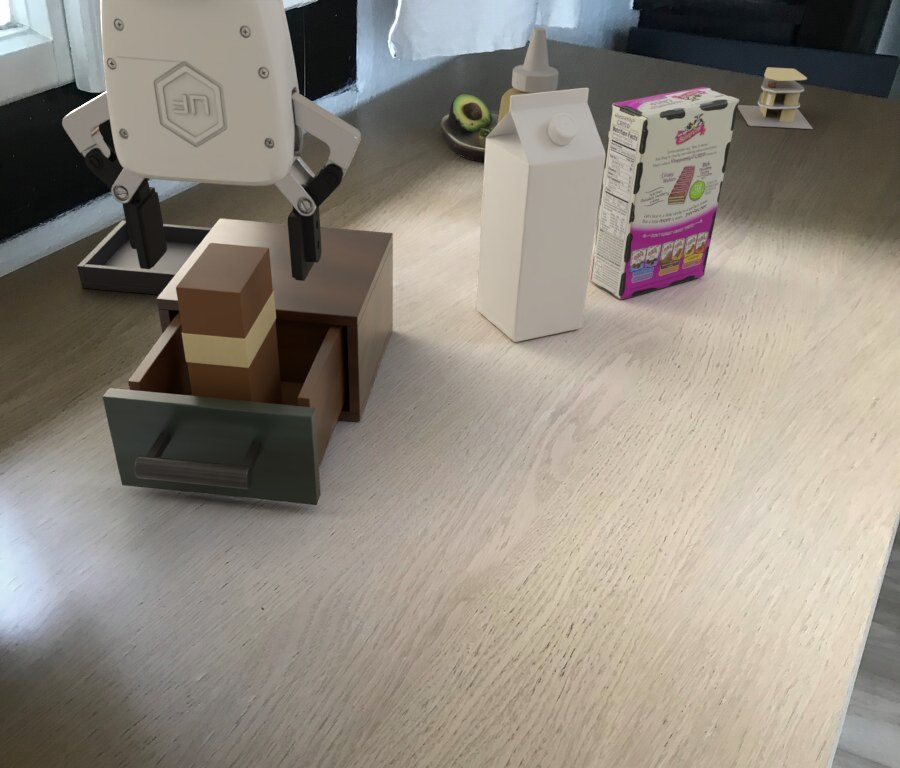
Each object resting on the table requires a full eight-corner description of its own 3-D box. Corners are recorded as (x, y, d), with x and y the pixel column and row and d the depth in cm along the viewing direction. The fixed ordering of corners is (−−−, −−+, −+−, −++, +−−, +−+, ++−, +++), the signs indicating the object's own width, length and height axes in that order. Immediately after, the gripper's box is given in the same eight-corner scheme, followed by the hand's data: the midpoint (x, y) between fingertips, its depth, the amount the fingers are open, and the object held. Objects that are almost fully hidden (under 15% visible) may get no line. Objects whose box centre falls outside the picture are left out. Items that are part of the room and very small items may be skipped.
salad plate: (566, 118, 135) (570, 81, 132) (611, 161, 122) (617, 122, 119) (429, 122, 131) (430, 85, 128) (461, 167, 119) (463, 127, 116)
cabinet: (360, 422, 75) (357, 316, 69) (173, 404, 76) (156, 298, 70) (392, 329, 87) (392, 232, 81) (231, 314, 87) (219, 218, 82)
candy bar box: (670, 260, 100) (703, 84, 89) (704, 278, 97) (744, 98, 86) (585, 282, 96) (610, 99, 85) (619, 302, 92) (649, 115, 82)
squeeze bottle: (524, 195, 113) (540, 16, 101) (575, 216, 108) (597, 32, 96) (471, 209, 109) (481, 25, 97) (521, 233, 104) (538, 42, 92)
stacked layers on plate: (735, 105, 143) (744, 63, 140) (797, 108, 143) (807, 66, 140) (748, 125, 136) (758, 82, 132) (813, 129, 136) (824, 86, 132)
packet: (200, 454, 67) (174, 287, 59) (229, 402, 73) (209, 241, 65) (258, 460, 67) (240, 293, 59) (283, 407, 72) (270, 247, 64)
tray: (81, 288, 90) (76, 266, 89) (125, 241, 99) (122, 220, 97) (232, 301, 89) (230, 279, 88) (264, 253, 98) (262, 232, 96)
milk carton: (474, 310, 90) (488, 83, 77) (540, 297, 93) (564, 76, 80) (513, 344, 85) (534, 109, 73) (582, 329, 88) (614, 100, 75)
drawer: (302, 544, 62) (295, 454, 58) (97, 523, 63) (74, 432, 58) (357, 396, 76) (355, 313, 72) (189, 380, 77) (176, 297, 72)
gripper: (-9, -55, 48) (72, 281, 60) (338, -37, 47) (352, 302, 58) (55, -77, 54) (117, 234, 65) (366, -62, 53) (374, 252, 64)
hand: (228, 266), depth 62 cm, fingers open, 9 cm apart
